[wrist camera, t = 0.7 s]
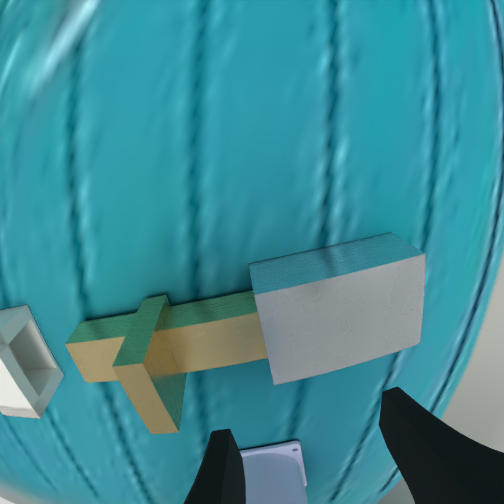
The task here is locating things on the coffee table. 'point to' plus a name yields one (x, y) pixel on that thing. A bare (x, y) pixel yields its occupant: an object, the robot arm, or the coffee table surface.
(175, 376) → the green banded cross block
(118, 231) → the coffee table surface
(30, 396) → the socket
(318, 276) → the sleeve
